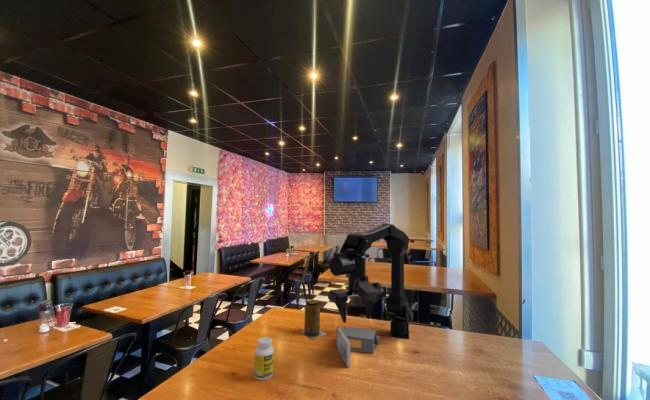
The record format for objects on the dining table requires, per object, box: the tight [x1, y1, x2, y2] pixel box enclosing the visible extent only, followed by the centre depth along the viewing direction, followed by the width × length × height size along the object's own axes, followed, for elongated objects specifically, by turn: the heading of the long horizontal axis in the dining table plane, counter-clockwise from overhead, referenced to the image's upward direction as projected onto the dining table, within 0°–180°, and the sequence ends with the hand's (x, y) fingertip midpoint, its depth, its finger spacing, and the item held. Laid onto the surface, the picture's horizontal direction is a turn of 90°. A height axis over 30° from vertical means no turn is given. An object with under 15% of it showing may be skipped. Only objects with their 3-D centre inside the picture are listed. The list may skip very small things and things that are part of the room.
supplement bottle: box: [253, 336, 275, 381], centre depth 77 cm, size 5×5×10 cm
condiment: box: [299, 299, 327, 340], centre depth 105 cm, size 7×8×12 cm
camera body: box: [336, 325, 380, 354], centre depth 95 cm, size 14×9×7 cm
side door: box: [336, 328, 351, 368], centre depth 86 cm, size 11×2×7 cm, turn 13°
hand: (356, 320), depth 87 cm, fingers open, 9 cm apart
